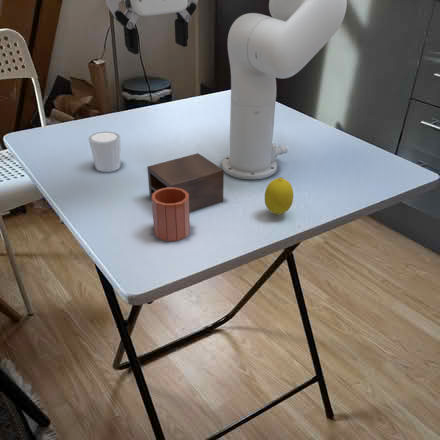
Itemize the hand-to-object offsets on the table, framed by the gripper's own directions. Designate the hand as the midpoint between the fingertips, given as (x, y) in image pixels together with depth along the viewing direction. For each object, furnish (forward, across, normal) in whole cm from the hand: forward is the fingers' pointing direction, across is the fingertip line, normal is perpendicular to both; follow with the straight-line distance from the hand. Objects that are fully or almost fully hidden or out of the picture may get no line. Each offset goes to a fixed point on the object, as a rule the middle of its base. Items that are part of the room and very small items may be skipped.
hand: (157, 48), depth 92 cm
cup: (+28, -7, -14) cm, 32 cm away
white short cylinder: (+28, -5, +18) cm, 34 cm away
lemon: (+28, +14, -20) cm, 38 cm away
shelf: (+28, +2, -5) cm, 29 cm away
